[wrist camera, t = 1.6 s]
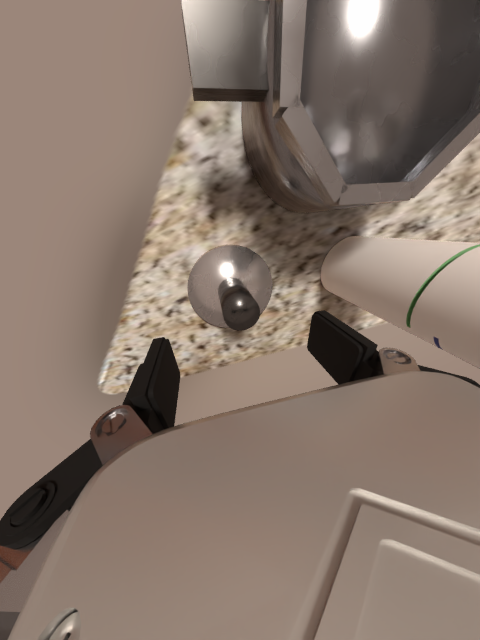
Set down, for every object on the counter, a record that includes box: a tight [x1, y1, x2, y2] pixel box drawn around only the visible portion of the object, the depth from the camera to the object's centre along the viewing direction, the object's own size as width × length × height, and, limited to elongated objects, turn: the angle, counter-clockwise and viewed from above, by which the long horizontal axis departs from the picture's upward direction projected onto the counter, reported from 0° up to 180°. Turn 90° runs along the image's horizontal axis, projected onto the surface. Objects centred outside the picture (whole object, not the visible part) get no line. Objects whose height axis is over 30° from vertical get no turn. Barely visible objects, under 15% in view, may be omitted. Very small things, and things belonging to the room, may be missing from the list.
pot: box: [181, 0, 480, 213], centre depth 11 cm, size 21×14×8 cm, turn 94°
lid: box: [188, 245, 272, 330], centre depth 17 cm, size 10×10×7 cm
